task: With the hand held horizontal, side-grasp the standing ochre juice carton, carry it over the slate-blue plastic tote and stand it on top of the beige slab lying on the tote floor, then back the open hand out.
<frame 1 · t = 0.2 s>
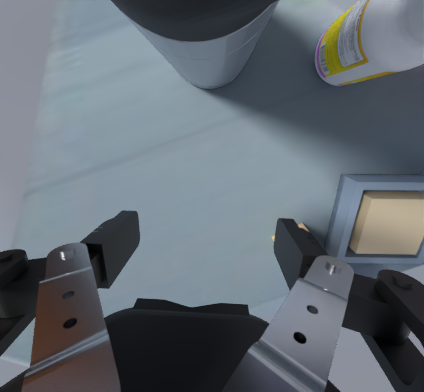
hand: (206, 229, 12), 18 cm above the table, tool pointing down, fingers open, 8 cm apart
beige slab: (378, 217, 30), point 1 cm above the table, touching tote
supplement bottle: (341, 54, 24), on the table
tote: (373, 214, 30), on the table
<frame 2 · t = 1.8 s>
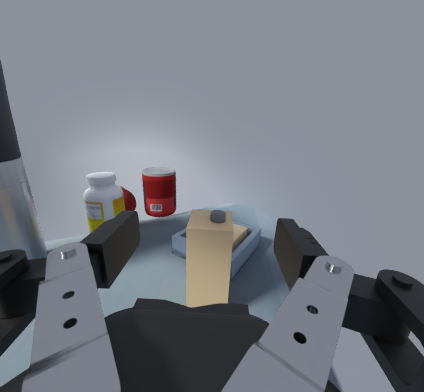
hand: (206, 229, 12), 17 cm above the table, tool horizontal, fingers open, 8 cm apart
onion: (124, 218, 50), on the table
beige slab: (217, 244, 39), point 1 cm above the table, touching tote
canned food: (160, 211, 55), on the table
supplement bottle: (110, 237, 42), on the table
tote: (217, 248, 39), on the table
carton: (207, 299, 28), on the table
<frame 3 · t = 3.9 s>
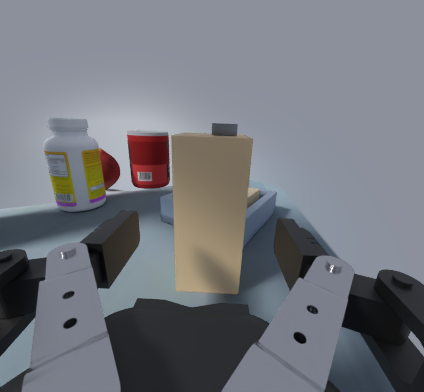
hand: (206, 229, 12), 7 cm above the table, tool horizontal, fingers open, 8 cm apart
onion: (106, 190, 41), on the table
canned food: (151, 184, 46), on the table
supplement bottle: (83, 206, 33), on the table
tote: (221, 216, 30), on the table
carton: (208, 271, 19), on the table
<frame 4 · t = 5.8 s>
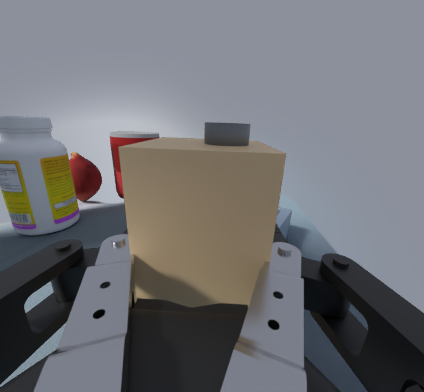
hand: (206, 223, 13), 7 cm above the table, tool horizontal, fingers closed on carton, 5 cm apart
onion: (85, 201, 35), on the table
canned food: (140, 194, 39), on the table
supplement bottle: (50, 225, 27), on the table
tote: (221, 242, 24), on the table
carton: (201, 348, 12), on the table, touching gripper
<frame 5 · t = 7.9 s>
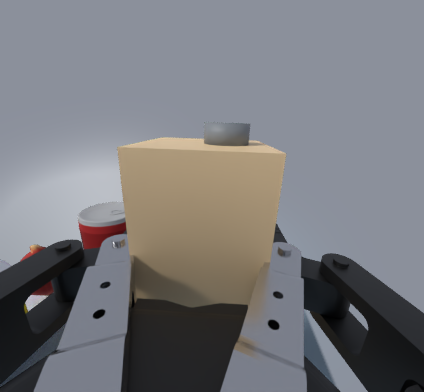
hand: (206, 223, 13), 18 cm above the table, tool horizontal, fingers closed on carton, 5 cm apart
onion: (50, 294, 30), on the table
canned food: (117, 273, 34), on the table
carton: (201, 349, 12), point 11 cm above the table, touching gripper
when the fingers open (12 cm above the table, at t = 9.9 s): carton stays where it is, resting on beige slab.
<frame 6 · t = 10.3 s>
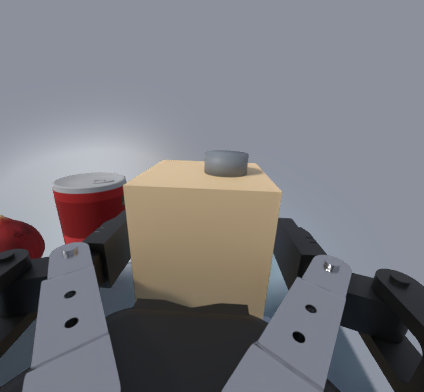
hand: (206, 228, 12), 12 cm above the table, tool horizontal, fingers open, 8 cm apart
onion: (20, 276, 25), on the table
canned food: (103, 255, 29), on the table
carton: (201, 363, 13), point 4 cm above the table, touching beige slab
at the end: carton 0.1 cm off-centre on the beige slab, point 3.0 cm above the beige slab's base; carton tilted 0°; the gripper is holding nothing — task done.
